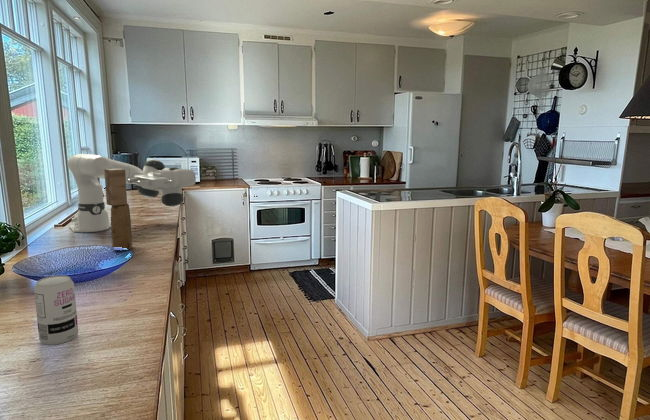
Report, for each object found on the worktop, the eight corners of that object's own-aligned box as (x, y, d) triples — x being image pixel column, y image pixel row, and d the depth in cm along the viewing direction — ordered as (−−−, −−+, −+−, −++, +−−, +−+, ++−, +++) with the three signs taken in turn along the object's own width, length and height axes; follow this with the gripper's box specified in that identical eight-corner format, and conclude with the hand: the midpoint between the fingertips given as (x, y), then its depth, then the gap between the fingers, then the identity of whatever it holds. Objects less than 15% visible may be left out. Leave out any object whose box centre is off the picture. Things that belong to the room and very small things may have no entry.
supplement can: (50, 331, 108) (45, 274, 105) (84, 330, 108) (79, 274, 106) (31, 346, 100) (25, 286, 97) (68, 345, 101) (62, 286, 98)
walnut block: (106, 204, 180) (104, 169, 177) (120, 202, 184) (118, 168, 182) (112, 206, 176) (110, 170, 173) (127, 204, 181) (125, 169, 178)
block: (130, 251, 181) (128, 205, 177) (111, 252, 179) (108, 206, 175) (133, 245, 191) (131, 201, 188) (115, 246, 189) (112, 202, 185)
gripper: (175, 189, 187) (145, 192, 177) (152, 184, 200) (123, 187, 190) (174, 174, 186) (144, 177, 176) (151, 171, 199) (122, 173, 189)
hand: (133, 182), depth 183 cm, fingers open, 8 cm apart
